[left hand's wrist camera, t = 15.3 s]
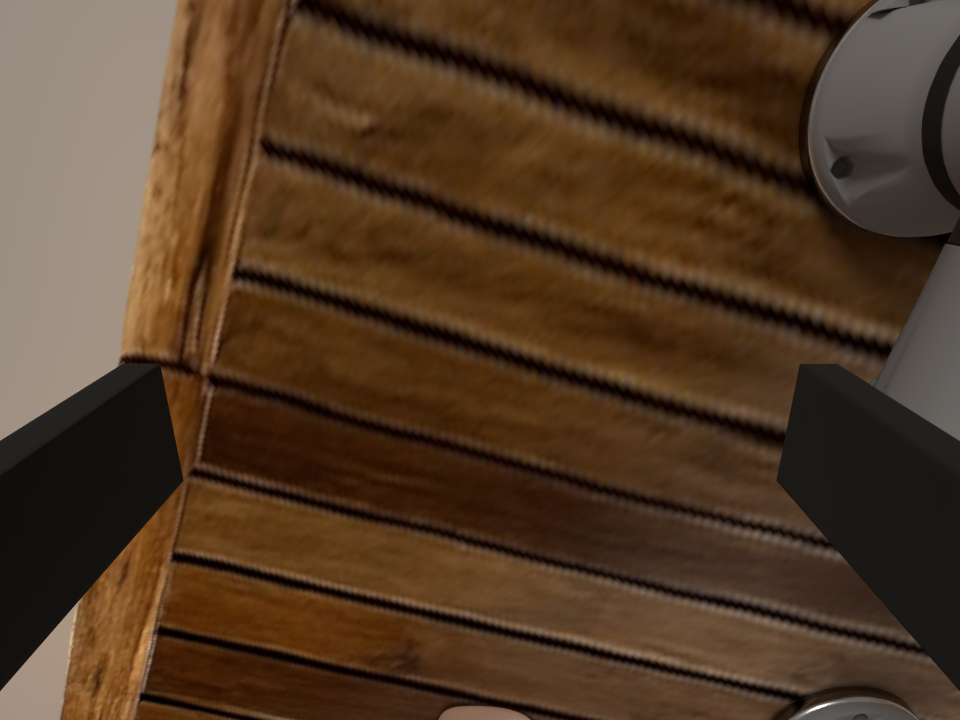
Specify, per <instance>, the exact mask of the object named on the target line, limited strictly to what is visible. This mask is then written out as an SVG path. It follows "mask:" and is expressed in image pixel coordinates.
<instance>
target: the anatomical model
mask: <svg viewBox="0 0 960 720" xmlns="http://www.w3.org/2000/svg"><path fill="white" fill-rule="evenodd" d="M438 720H530V719H529V718H528V717H527V716H525V715H523V714H521V713H519V712H517V711H513V710H510V709H505V708H499V707H491V706H458V707H453V708H450V709H448V710H446V711H444V712H443V713H442V714H441V716H440V717H439V719H438Z"/></svg>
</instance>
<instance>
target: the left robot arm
mask: <svg viewBox="0 0 960 720" xmlns="http://www.w3.org/2000/svg"><path fill="white" fill-rule="evenodd" d="M799 142H800V153H801V158H802V163H803V167H804V170H805V173H806V176H807V178H808V181H809V183H810V185H811V187H812V189H813V190H814V192H815V194H816V195H817V197H818V198H819V199H820V201H821V202H822V203H823V204H824V205H825V206H826V207H827V208H828V209H829V210H830V211H831V212H832V213H833V214H834V215H836V216H837V217H838V218H840V219H841V220H843V221H845V222H846V223H848V224H850V225H852V226H855V227H857V228H860V229H863V230H866V231H871V232H875V233H879V234H883V235H888V236H896V237H923V236H933V235H939V234H944V233H949V232H952V233H951V235H950V237H949V239H948V241H947V242H946V244H945V245H944V247H943V249H942V251H941V253H940V255H939V257H938V259H937V261H936V263H935V265H934V267H933V269H932V271H931V273H930V275H929V277H928V279H927V281H926V283H925V285H924V287H923V289H922V291H921V293H920V295H919V297H918V299H917V301H916V303H915V305H914V307H913V309H912V311H911V313H910V315H909V317H908V319H907V321H906V323H905V325H904V327H903V329H902V331H901V333H900V335H899V337H898V339H897V341H896V343H895V345H894V347H893V349H892V351H891V353H890V355H889V357H888V358H887V360H886V362H885V364H884V366H883V368H882V370H881V372H880V374H879V375H878V377H877V379H876V380H874V381H872V383H871V384H868V383H867V382H865V381H864V380H862V379H860V378H859V377H857V376H856V375H854V374H852V373H851V372H849V371H848V370H846V369H844V368H843V367H841V366H840V365H838V364H800V367H799V372H798V377H797V382H796V387H795V392H794V397H793V402H792V407H791V412H790V416H789V421H788V426H787V431H786V436H785V441H784V446H783V451H782V456H781V461H780V466H779V471H778V476H777V482H778V483H779V484H780V485H781V486H782V487H783V489H784V490H785V491H786V492H787V493H788V494H789V495H790V497H791V498H792V499H793V500H794V501H795V502H796V503H797V505H798V506H799V507H800V508H801V509H802V510H803V512H804V513H805V514H806V515H807V516H808V517H809V518H810V520H811V521H812V522H813V523H814V524H815V525H816V526H817V528H818V529H819V530H820V531H821V532H822V533H823V534H824V536H825V537H826V538H827V539H828V540H829V541H830V543H831V544H832V545H833V546H834V547H835V548H836V549H837V551H838V552H839V553H840V554H841V555H842V556H843V557H844V559H845V560H846V561H847V562H848V563H849V564H850V566H851V567H852V568H853V569H854V570H855V571H856V572H857V574H858V575H859V576H860V577H861V578H862V579H863V580H864V582H865V583H866V584H867V585H868V586H869V587H870V588H871V590H872V591H873V592H874V593H875V594H876V595H877V597H878V598H879V599H880V600H881V601H882V602H883V603H884V605H885V606H886V607H887V608H888V609H889V610H890V611H891V613H892V614H893V615H894V616H895V617H896V618H897V619H898V621H899V622H900V623H901V624H902V625H903V626H904V628H905V629H906V630H907V631H908V632H909V633H910V634H911V636H912V637H913V638H914V639H915V640H916V641H917V642H918V644H919V645H920V646H921V647H922V648H923V649H924V651H925V652H926V653H927V654H928V655H929V656H930V657H931V659H932V660H933V661H934V662H935V663H936V664H937V665H938V667H939V668H940V669H941V670H942V671H943V672H944V673H945V675H946V676H947V677H948V678H949V679H950V680H951V682H952V683H953V684H954V685H955V686H956V687H957V688H958V690H959V691H960V0H872V1H870V2H869V3H868V4H867V5H865V6H864V7H863V8H862V9H861V10H859V11H858V12H857V13H856V14H855V15H854V16H853V17H852V18H851V19H850V20H849V21H848V22H847V23H846V24H845V25H844V26H843V27H842V29H841V30H840V31H839V32H838V34H837V35H836V36H835V37H834V39H833V40H832V41H831V43H830V44H829V46H828V47H827V49H826V50H825V52H824V54H823V55H822V57H821V59H820V61H819V62H818V64H817V66H816V69H815V71H814V73H813V75H812V77H811V80H810V83H809V85H808V88H807V91H806V94H805V98H804V102H803V106H802V111H801V118H800V128H799ZM182 482H183V476H182V471H181V466H180V461H179V456H178V451H177V446H176V441H175V436H174V431H173V426H172V421H171V416H170V412H169V407H168V402H167V397H166V392H165V387H164V382H163V377H162V372H161V367H160V364H122V365H120V366H119V367H117V368H116V369H114V370H112V371H111V372H109V373H108V374H106V375H104V376H103V377H101V378H100V379H98V380H96V381H95V382H93V383H92V384H90V385H88V386H87V387H85V388H84V389H82V390H81V391H79V392H77V393H76V394H74V395H73V396H71V397H69V398H68V399H66V400H65V401H63V402H61V403H60V404H58V405H57V406H55V407H53V408H52V409H50V410H49V411H47V412H45V413H44V414H42V415H41V416H39V417H37V418H36V419H34V420H33V421H31V422H29V423H28V424H26V425H25V426H23V427H22V428H20V429H18V430H17V431H15V432H14V433H12V434H10V435H9V436H7V437H6V438H4V439H2V440H1V441H0V691H1V690H2V688H3V687H4V686H5V685H6V684H7V683H8V681H9V680H10V679H11V678H12V677H13V676H14V675H15V673H16V672H17V671H18V670H19V669H20V668H21V667H22V665H23V664H24V663H25V662H26V661H27V660H28V659H29V657H30V656H31V655H32V654H33V653H34V652H35V651H36V649H37V648H38V647H39V646H40V645H41V644H42V642H43V641H44V640H45V639H46V638H47V637H48V636H49V634H50V633H51V632H52V631H53V630H54V629H55V628H56V626H57V625H58V624H59V623H60V622H61V621H62V619H63V618H64V617H65V616H66V615H67V614H68V613H69V611H70V610H71V609H72V608H73V607H74V606H75V605H76V603H77V602H78V601H79V600H80V599H81V598H82V597H83V595H84V594H85V593H86V592H87V591H88V590H89V588H90V587H91V586H92V585H93V584H94V583H95V582H96V580H97V579H98V578H99V577H100V576H101V575H102V574H103V572H104V571H105V570H106V569H107V568H108V567H109V566H110V564H111V563H112V562H113V561H114V560H115V559H116V557H117V556H118V555H119V554H120V553H121V552H122V551H123V549H124V548H125V547H126V546H127V545H128V544H129V543H130V541H131V540H132V539H133V538H134V537H135V536H136V534H137V533H138V532H139V531H140V530H141V529H142V528H143V526H144V525H145V524H146V523H147V522H148V521H149V520H150V518H151V517H152V516H153V515H154V514H155V513H156V512H157V510H158V509H159V508H160V507H161V506H162V505H163V503H164V502H165V501H166V500H167V499H168V498H169V497H170V495H171V494H172V493H173V492H174V491H175V490H176V489H177V487H178V486H179V485H180V484H181V483H182Z"/></svg>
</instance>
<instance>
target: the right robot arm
mask: <svg viewBox="0 0 960 720" xmlns="http://www.w3.org/2000/svg"><path fill="white" fill-rule="evenodd" d="M772 720H919V719H918V718H917V717H916V715H915V714H914V713H913V711H912V710H911V709H910V708H909V706H908V705H907V704H906V703H904V702H903V701H902V700H901V699H899V698H898V697H896V696H894V695H892V694H890V693H887V692H885V691H882V690H878V689H874V688H868V687H840V688H833V689H828V690H824V691H820V692H817V693H814V694H811V695H808V696H806V697H804V698H802V699H799V700H798V701H796V702H794V703H792V704H791V705H789V706H788V707H786V708H785V709H783V710H782V711H781V712H779V713H778V714H777V715H776V716H775V717H774V718H773V719H772Z"/></svg>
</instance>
